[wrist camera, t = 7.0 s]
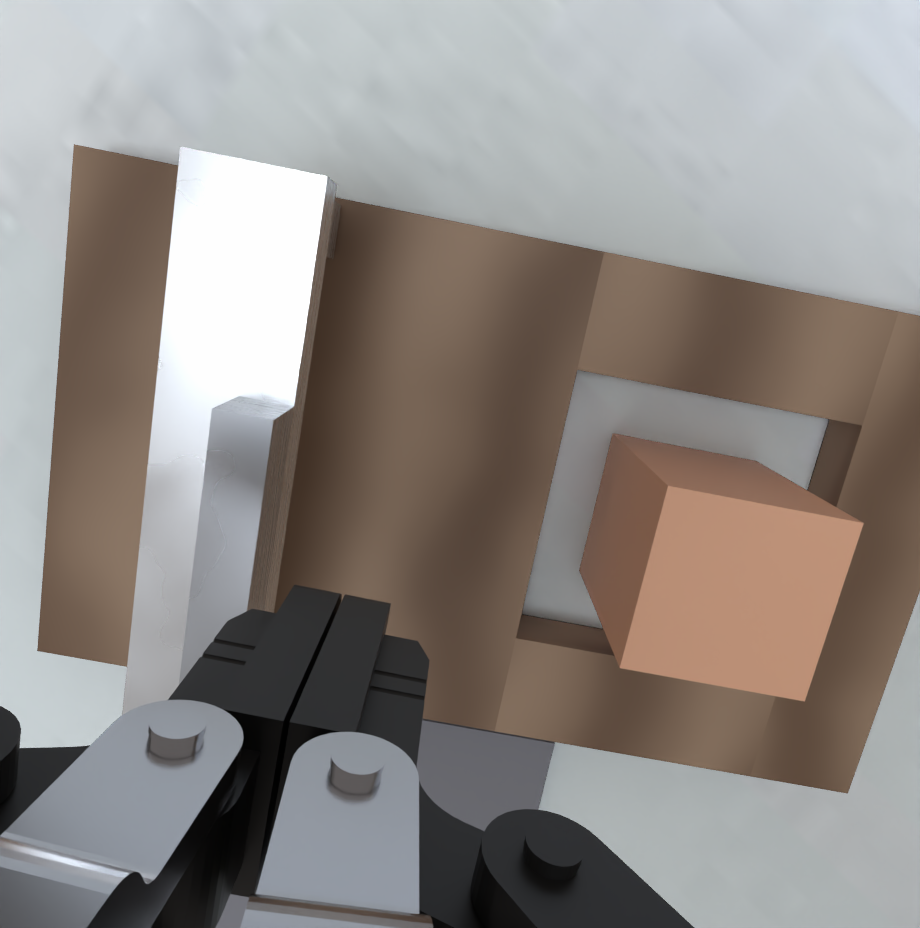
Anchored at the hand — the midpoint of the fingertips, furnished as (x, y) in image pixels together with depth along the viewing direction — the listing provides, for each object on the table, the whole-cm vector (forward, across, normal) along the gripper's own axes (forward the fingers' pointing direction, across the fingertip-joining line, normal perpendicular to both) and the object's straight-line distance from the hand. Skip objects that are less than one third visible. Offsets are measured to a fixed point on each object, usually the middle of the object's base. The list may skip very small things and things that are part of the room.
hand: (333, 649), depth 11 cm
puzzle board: (+14, -3, 0) cm, 15 cm away
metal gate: (+12, +4, +1) cm, 13 cm away
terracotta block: (+14, -9, 0) cm, 17 cm away
